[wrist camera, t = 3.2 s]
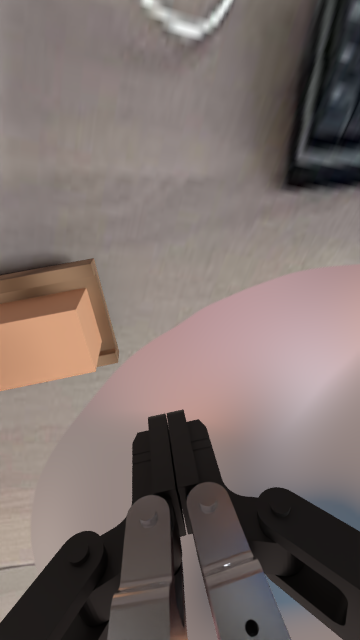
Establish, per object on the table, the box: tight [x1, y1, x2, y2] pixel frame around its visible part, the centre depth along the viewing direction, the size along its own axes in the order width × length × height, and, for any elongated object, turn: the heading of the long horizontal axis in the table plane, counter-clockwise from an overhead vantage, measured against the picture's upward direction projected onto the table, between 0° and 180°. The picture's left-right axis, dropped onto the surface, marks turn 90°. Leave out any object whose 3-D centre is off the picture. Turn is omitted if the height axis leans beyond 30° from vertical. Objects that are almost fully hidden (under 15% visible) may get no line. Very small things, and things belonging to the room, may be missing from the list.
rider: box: [0, 288, 102, 391], centre depth 24 cm, size 7×5×5 cm
